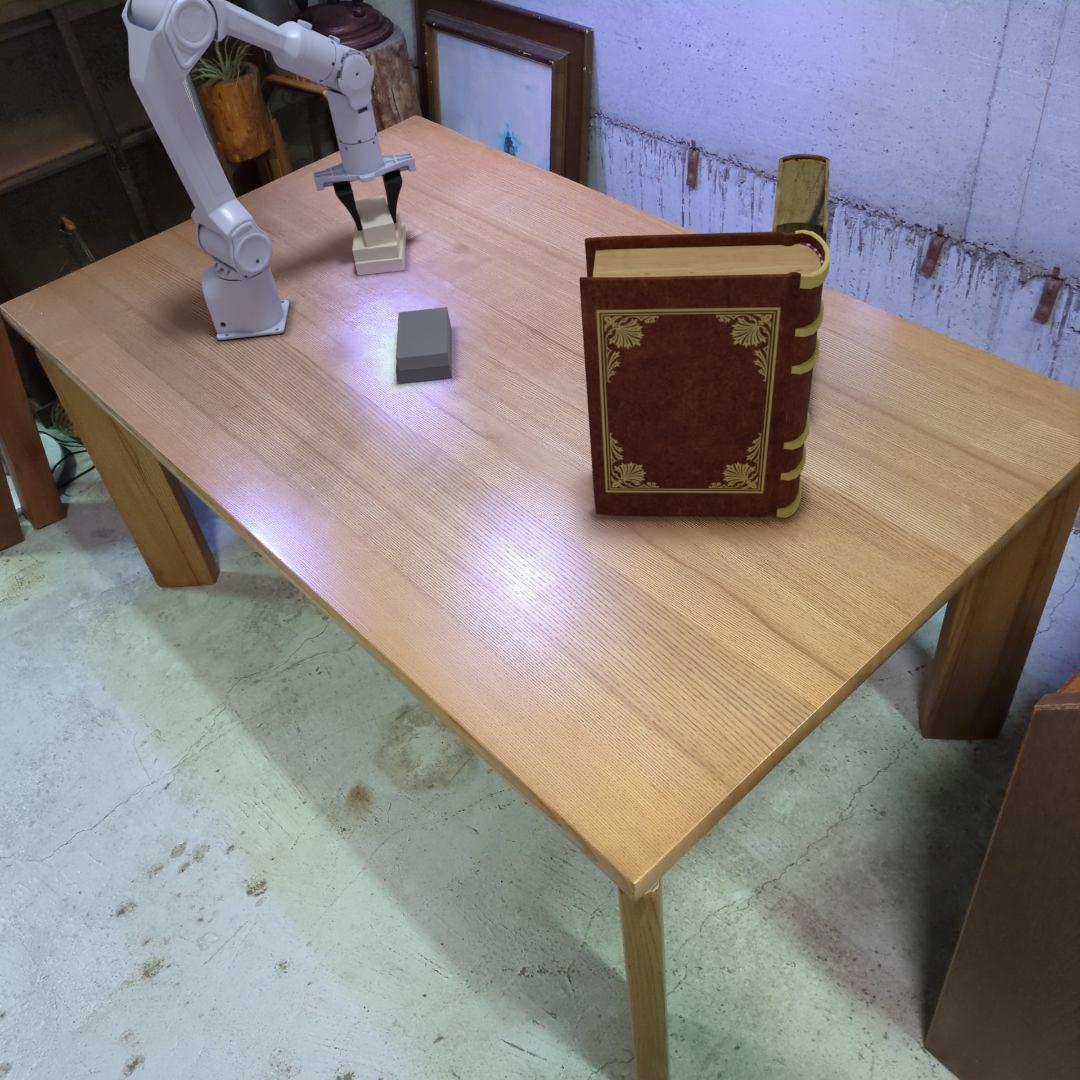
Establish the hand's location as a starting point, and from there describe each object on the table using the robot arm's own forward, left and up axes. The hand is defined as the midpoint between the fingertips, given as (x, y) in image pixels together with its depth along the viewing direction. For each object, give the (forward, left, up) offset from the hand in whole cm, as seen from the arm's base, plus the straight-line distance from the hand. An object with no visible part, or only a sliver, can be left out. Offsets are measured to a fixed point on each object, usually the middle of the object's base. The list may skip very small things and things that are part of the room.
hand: (376, 224), depth 157 cm
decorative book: (+38, -60, -5) cm, 71 cm away
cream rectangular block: (0, 0, -1) cm, 1 cm away
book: (+52, -41, -5) cm, 66 cm away
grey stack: (+7, -28, -5) cm, 29 cm away
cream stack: (0, 0, -5) cm, 5 cm away
